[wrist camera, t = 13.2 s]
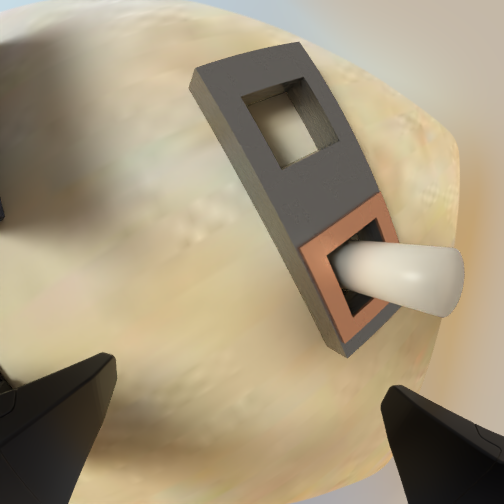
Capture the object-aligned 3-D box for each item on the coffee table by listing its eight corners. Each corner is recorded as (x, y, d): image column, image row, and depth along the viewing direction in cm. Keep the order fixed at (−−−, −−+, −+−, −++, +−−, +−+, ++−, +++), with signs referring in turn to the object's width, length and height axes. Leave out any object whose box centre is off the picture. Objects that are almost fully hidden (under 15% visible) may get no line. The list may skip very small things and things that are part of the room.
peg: (323, 291, 23) (430, 327, 13) (318, 243, 22) (432, 255, 12) (358, 279, 24) (462, 304, 14) (355, 235, 24) (464, 242, 13)
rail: (326, 345, 24) (349, 359, 20) (188, 88, 18) (196, 65, 15) (391, 288, 26) (415, 294, 23) (282, 58, 20) (300, 39, 17)
